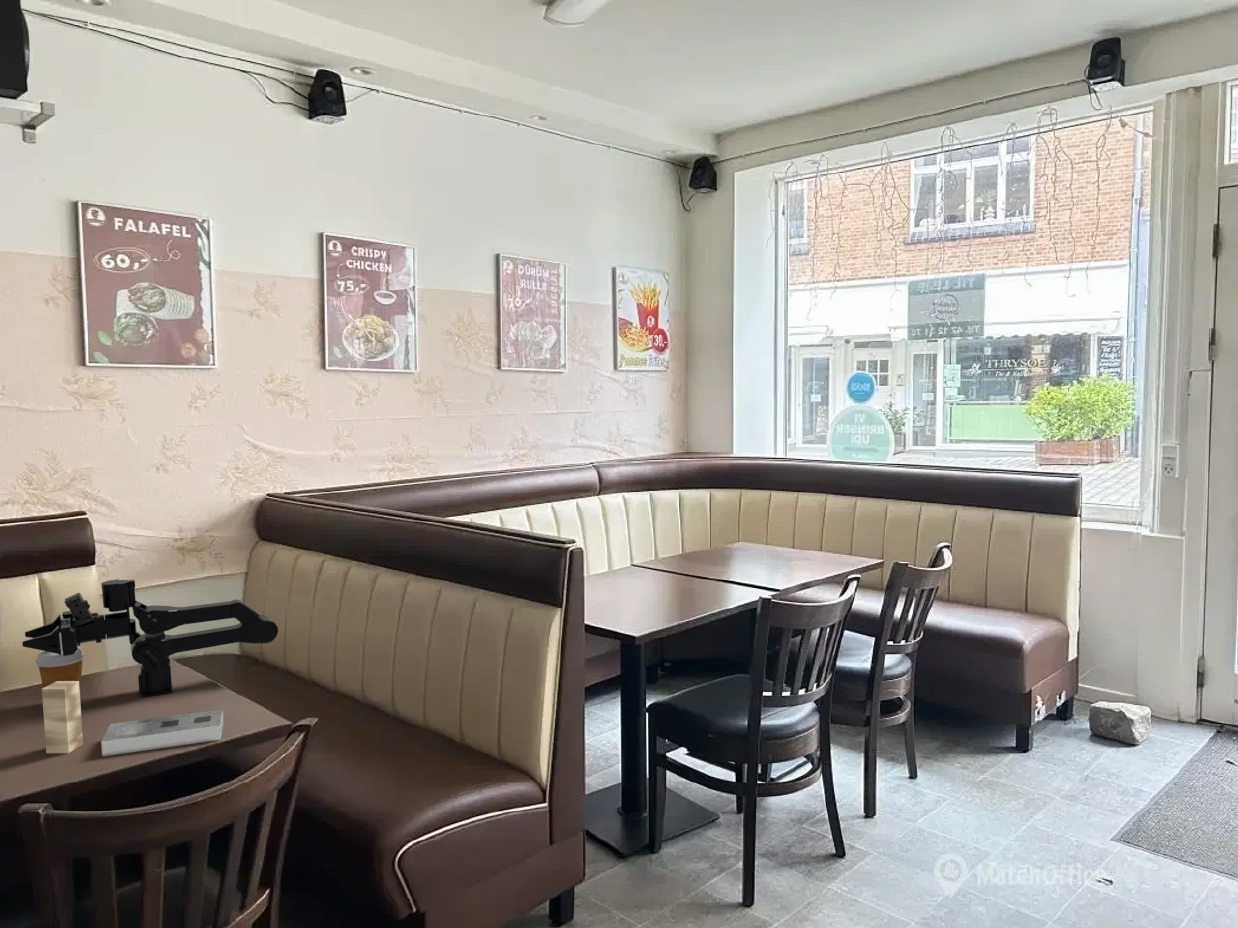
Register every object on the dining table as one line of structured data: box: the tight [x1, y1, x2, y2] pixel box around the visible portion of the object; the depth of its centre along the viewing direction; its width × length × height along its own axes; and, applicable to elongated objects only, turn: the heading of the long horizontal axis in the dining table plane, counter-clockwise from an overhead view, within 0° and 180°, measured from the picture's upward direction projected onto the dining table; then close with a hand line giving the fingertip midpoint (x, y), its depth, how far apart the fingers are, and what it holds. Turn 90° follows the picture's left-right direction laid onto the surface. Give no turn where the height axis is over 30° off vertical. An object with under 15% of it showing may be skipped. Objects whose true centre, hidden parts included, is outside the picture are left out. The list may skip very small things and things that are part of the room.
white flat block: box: [100, 709, 224, 757], centre depth 181 cm, size 21×10×3 cm, turn 111°
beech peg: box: [41, 681, 84, 754], centre depth 176 cm, size 4×4×13 cm
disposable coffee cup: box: [35, 646, 85, 690], centre depth 203 cm, size 10×10×12 cm
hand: (23, 639), depth 196 cm, fingers open, 9 cm apart
